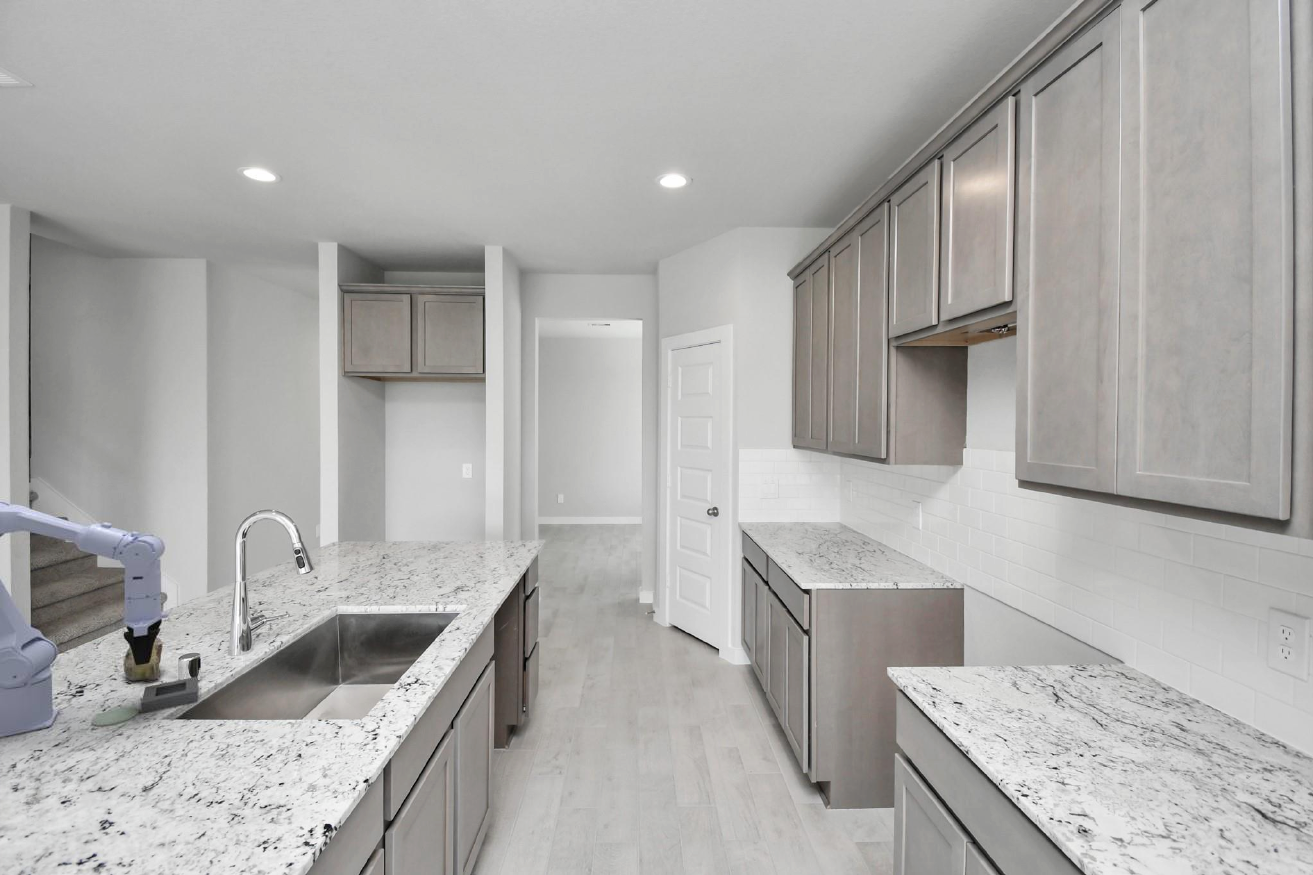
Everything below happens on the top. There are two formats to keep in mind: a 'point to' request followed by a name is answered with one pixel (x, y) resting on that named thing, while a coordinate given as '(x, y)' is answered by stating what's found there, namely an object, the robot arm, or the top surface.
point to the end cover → (144, 667)
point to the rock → (129, 668)
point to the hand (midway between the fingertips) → (143, 660)
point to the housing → (169, 694)
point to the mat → (115, 716)
